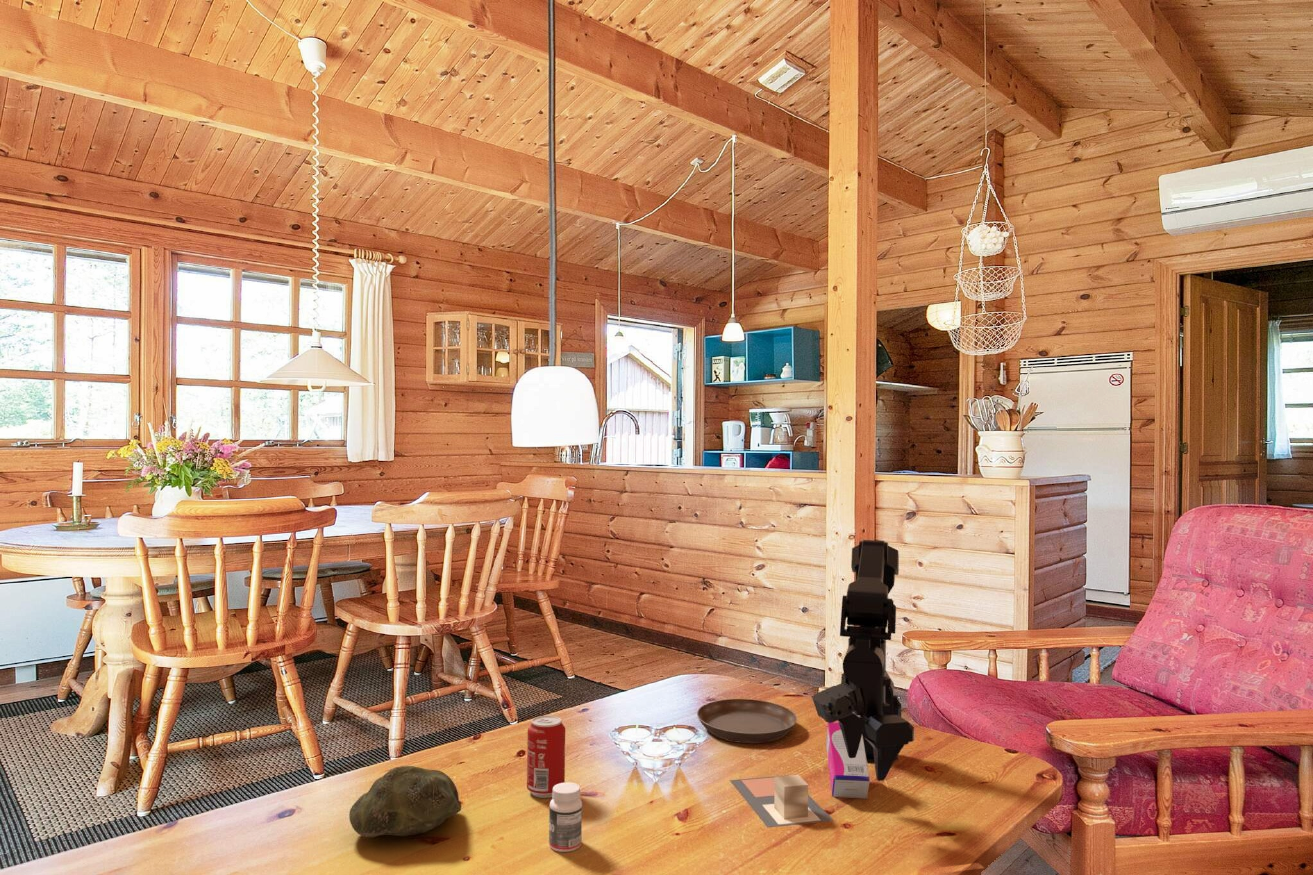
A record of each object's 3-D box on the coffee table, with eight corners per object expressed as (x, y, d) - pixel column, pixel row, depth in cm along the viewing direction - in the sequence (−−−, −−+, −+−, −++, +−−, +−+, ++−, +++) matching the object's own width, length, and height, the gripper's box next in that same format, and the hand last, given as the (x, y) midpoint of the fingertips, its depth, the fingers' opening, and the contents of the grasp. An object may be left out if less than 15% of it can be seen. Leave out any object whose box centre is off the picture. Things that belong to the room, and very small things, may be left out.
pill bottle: (549, 837, 121) (550, 781, 121) (581, 836, 121) (582, 780, 121) (548, 853, 116) (548, 794, 116) (581, 852, 117) (582, 793, 117)
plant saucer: (804, 749, 159) (804, 731, 159) (698, 747, 159) (698, 730, 159) (788, 714, 180) (788, 699, 180) (695, 712, 180) (695, 697, 180)
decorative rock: (375, 817, 130) (374, 752, 132) (472, 812, 130) (471, 747, 131) (335, 853, 116) (334, 780, 117) (445, 848, 115) (443, 775, 116)
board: (788, 778, 144) (788, 774, 144) (834, 824, 126) (834, 820, 126) (729, 783, 141) (729, 779, 141) (767, 831, 124) (767, 827, 124)
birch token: (797, 805, 132) (797, 774, 132) (807, 816, 128) (808, 784, 128) (774, 807, 131) (774, 776, 131) (783, 819, 127) (784, 786, 127)
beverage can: (571, 788, 138) (572, 717, 139) (551, 802, 133) (552, 728, 133) (539, 781, 141) (541, 712, 141) (519, 795, 135) (520, 722, 136)
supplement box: (866, 801, 135) (858, 743, 145) (870, 779, 132) (861, 721, 142) (831, 800, 136) (825, 741, 145) (833, 778, 133) (827, 719, 142)
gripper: (795, 657, 136) (794, 750, 136) (847, 689, 118) (846, 798, 118) (856, 653, 139) (855, 745, 138) (916, 685, 120) (915, 791, 120)
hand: (865, 768), depth 129 cm, fingers open, 9 cm apart
